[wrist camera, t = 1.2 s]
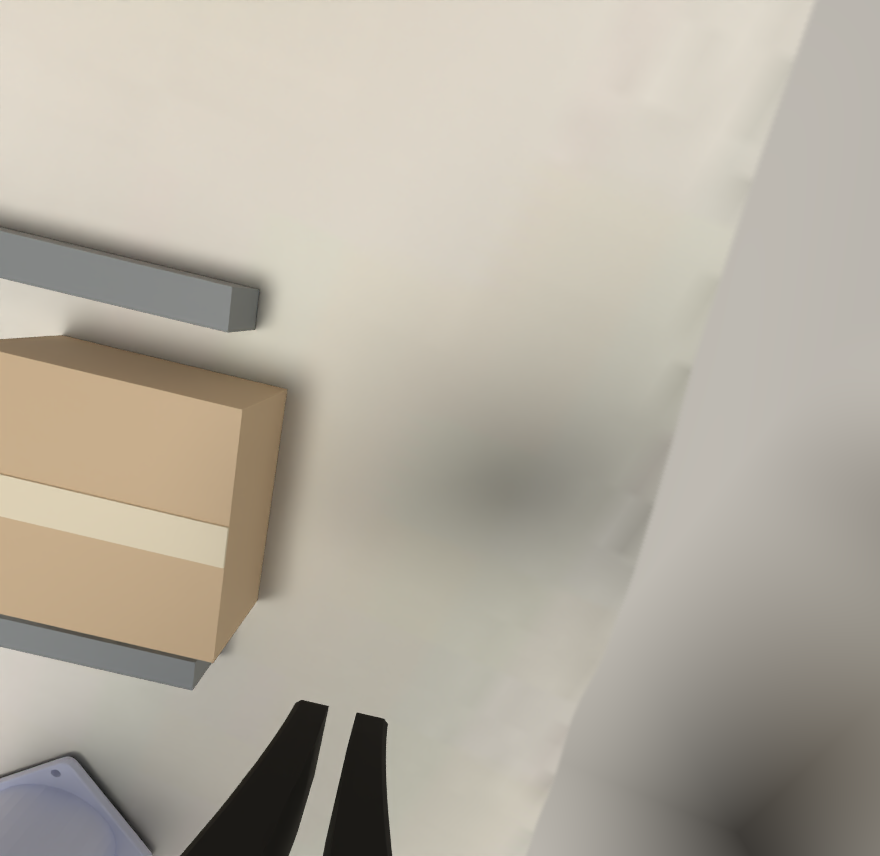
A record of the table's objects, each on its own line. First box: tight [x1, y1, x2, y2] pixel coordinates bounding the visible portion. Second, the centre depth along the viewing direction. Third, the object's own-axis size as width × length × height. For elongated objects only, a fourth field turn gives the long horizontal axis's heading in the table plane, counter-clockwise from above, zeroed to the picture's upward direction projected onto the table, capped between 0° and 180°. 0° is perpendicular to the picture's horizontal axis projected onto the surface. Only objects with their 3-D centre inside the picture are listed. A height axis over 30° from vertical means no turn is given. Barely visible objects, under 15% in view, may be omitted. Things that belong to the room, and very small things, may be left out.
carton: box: [0, 335, 287, 663], centre depth 17 cm, size 9×10×4 cm
